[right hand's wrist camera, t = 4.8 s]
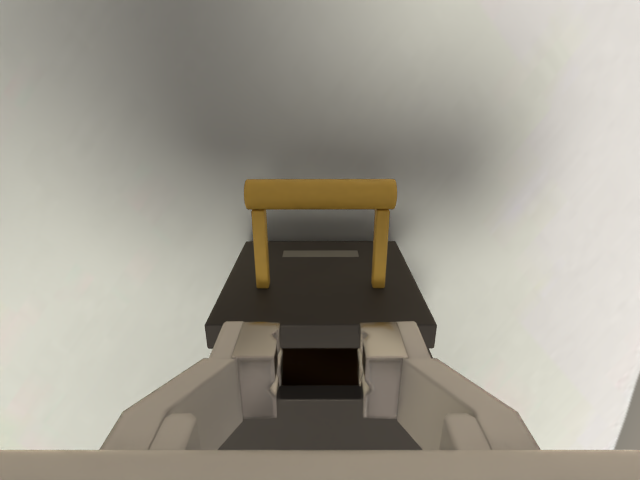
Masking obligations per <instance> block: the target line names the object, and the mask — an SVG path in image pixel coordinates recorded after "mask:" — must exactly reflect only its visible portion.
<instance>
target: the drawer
mask: <svg viewBox="0 0 640 480" xmlns="http://www.w3.org/2000/svg"><path fill="white" fill-rule="evenodd" d="M244 201H245V206H246V208H247V209H252V211H251V214H252V229H253V241H247V242H246V243H245V245H244V247H243V249H242V251H241V253H240V255H239V257H238V259H237V261H236V263H235V265H234V267H233V269H232V271H231V273H230V275H229V277H228V279H227V281H226V283H225V285H224V287H223V289H222V291H221V293H220V295H219V298H218V300H217V302H216V304H215V306H214V308H213V310H212V312H211V314H210V316H209V318H208V320H207V322H206V324H205V331H206V339H207V347H208V348H209V349H213V347H214V345H215V343H216V340H217V338H218V335H219V333H220V331H221V328H222V326H223V324H224V323H225V322H226V321H243V322H245V321H246V322H281V328H282V340H281V349H282V350H283V372H282V383H281V385H359V383H358V373H357V350H358V349H359V347H360V346H359V339H358V327H359V323H372V322H403V321H414V322H416V324H417V326H418V328H419V331H420V333H421V336H422V338H423V340H424V343H425V345H426V347H427V348H434V344H435V336H436V328H437V325H436V322H435V320H434V318H433V316H432V314H431V312H430V310H429V308H428V306H427V304H426V302H425V300H424V298H423V296H422V294H421V292H420V290H419V288H418V286H417V284H416V282H415V280H414V278H413V276H412V274H411V272H410V270H409V268H408V266H407V264H406V262H405V260H404V258H403V256H402V254H401V252H400V250H399V248H398V246H397V244H396V242H395V241H388V231H389V215H390V211H389V209H394V208H395V206H396V201H397V185H396V181H395V179H247V180H246V181H245V185H244ZM266 209H375V219H374V239H373V241H268V235H267V216H266Z"/></svg>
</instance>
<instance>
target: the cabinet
mask: <svg viewBox="0 0 640 480" xmlns="http://www.w3.org/2000/svg"><path fill="white" fill-rule="evenodd" d="M427 350H428V352H429V354H430V357H431V358H433V357H432V355H431V353H430V350H429V348H427ZM279 396H280V399H279V406H278V413H277V418H261V419H243V421H242V423H241V424H240V425H239V426H238V427H237V428H236V429H235V430H234V432H233V433H232V434H231V435H230V436H229V437H228V438H227V440H226V441H225V442H224V443H223V444H222V445H221V446H220V447H219V449H218V450H423V449H422V448H421V447H420V446H419V445H418V444H417V443H416V441H415V440H414V439H413V438H412V437H411V436H410V435H409V434H408V432H407V431H406V430H405V429H404V428H403V427H402V426H401V424H400V423H399V422H398V421H397V419H379V418H363V412H362V405H361V398H360V397H361V387H360V386H359V385H281V386H280V387H279Z"/></svg>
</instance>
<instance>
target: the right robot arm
mask: <svg viewBox="0 0 640 480" xmlns="http://www.w3.org/2000/svg"><path fill="white" fill-rule="evenodd" d="M358 339H359V346H360V347H359V349H358V350H357V373H358V383H359V386H360V387H361V397H360V398H361V405H362V412H363V418H379V419H397V421H398V422H399V423H400V424H401V426H402V427H403V428H404V429H405V430H406V431H407V432H408V434H409V435H410V436H411V437H412V438H413V439H414V440H415V441H416V443H417V444H418V445H419V446H420V447H421V448H422V449H423V450H218V449H219V447H220V446H221V445H222V444H223V443H224V442H225V441H226V440H227V438H228V437H229V436H230V435H231V434H232V433H233V432H234V430H235V429H236V428H237V427H238V426H239V425H240V424H241V423H242V421H243V419H261V418H277V413H278V406H279V399H280V396H279V387H280V386H281V383H282V372H283V350H282V349H281V340H282V328H281V322H246V321H245V322H243V321H226V322H225V323H224V324H223V326H222V328H221V331H220V333H219V335H218V338H217V340H216V343H215V345H214V347H213V350H212V352H211V355H210V357H209V358H203V359H202V360H200V361H199V362H197V363H196V364H194V365H193V366H191V367H190V368H188V369H187V370H185V371H184V372H182V373H181V374H179V375H178V376H176V377H175V378H173V379H172V380H170V381H169V382H167V383H166V384H164V385H163V386H161V387H160V388H158V389H157V390H155V391H153V392H152V393H150V394H149V395H147V396H146V397H144V398H143V399H141V400H140V401H138V402H137V403H135V404H134V405H132V406H131V407H129V408H128V409H126V410H125V411H123V412H122V414H121V416H120V417H119V419H118V420H117V422H116V424H115V425H114V427H113V429H112V430H111V432H110V433H109V435H108V437H107V438H106V440H105V442H104V443H103V445H102V446H101V448H100V450H0V480H640V450H540V448H539V446H538V445H537V443H536V441H535V440H534V438H533V436H532V435H531V433H530V432H529V430H528V428H527V427H526V425H525V423H524V422H523V420H522V418H521V417H520V415H519V414H518V412H517V411H515V410H514V409H512V408H511V407H509V406H507V405H506V404H504V403H503V402H501V401H500V400H498V399H497V398H495V397H494V396H492V395H491V394H489V393H488V392H486V391H485V390H483V389H482V388H480V387H479V386H477V385H476V384H474V383H473V382H471V381H470V380H468V379H467V378H465V377H464V376H462V375H461V374H459V373H458V372H456V371H455V370H453V369H452V368H450V367H449V366H447V365H446V364H444V363H443V362H441V361H440V360H438V359H437V358H431V357H430V354H429V352H428V350H427V347H426V345H425V343H424V340H423V338H422V336H421V333H420V331H419V328H418V326H417V324H416V322H414V321H403V322H372V323H359V327H358Z"/></svg>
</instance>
